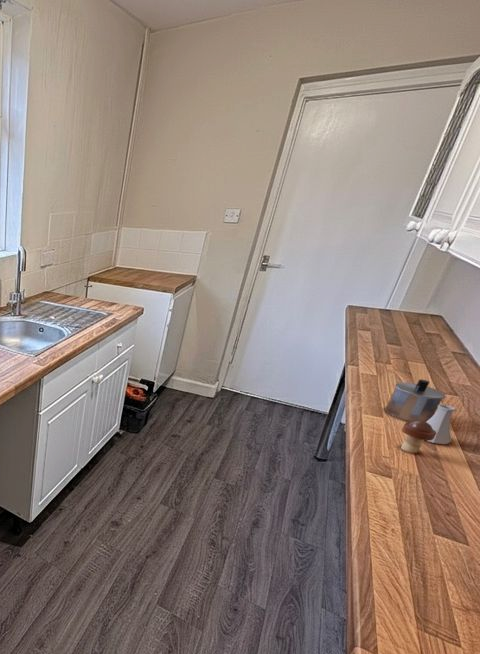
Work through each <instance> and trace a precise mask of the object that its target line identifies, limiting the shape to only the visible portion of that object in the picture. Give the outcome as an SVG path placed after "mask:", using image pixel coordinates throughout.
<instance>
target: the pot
mask: <svg viewBox="0 0 480 654" xmlns="http://www.w3.org/2000/svg"><path fill="white" fill-rule="evenodd" d="M442 401H443V399H428V398H422V397H418V396H414V395H410V394H407V393H405V392H402V391H400V390H398V389H397V388H396V387H395V386H394V390H393V392H392V394H391V396H390V398H389V400H388V403H387V405H386V407H385V411H384V412H386V413H387V414H388V415H389V416H391V417H393V418H395V419H397V420H398V419H399V420H401V421H404V422H407V423H412V422H414V421H424V422H427V421H428V420H429V419H430V418H431V417H432V416H433V415H434V414H435V413H436V412H437V410H438V405H440V404H441V403H442Z"/></svg>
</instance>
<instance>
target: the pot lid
mask: <svg viewBox="0 0 480 654" xmlns="http://www.w3.org/2000/svg"><path fill="white" fill-rule="evenodd" d="M429 384H430V381H429V380H426V379H418V381H417V383H412V382H396V383H395V384H394V388H395V387H396V388H397V389H398V390H400V391H402V392H405V393H407V394H410V395H414V396H418V397H422V398H428V399H442V400H443V399H444V400H445V398H446V393H444V392H442V391H440V390H438V389H436V388H434V387H430V386H429Z"/></svg>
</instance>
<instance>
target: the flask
mask: <svg viewBox="0 0 480 654" xmlns="http://www.w3.org/2000/svg"><path fill="white" fill-rule="evenodd" d="M456 410H457V408H456V407H453V406H451V405H448V404H442V403H440V404H439V405H438V408H437V410H436V412H435V414H434V415H433V416H432V417H431V418H430V419H429V420H428V421H427V423H428V424H430V425H431V427H432V429H433V430H435V431H436V435H435V437H434V439H433V440H426V441H427V442H429V443H432V444H440V445H447V444H450V443H451V442H452V438H451V418H452V415H453V412H455V411H456Z"/></svg>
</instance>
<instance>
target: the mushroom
mask: <svg viewBox="0 0 480 654" xmlns="http://www.w3.org/2000/svg"><path fill="white" fill-rule="evenodd" d="M401 432H402V433H404V434H405V435H406V437H405V438H404V440H403V442H402V445H401V447H400V449H401V450H402V451H404V452H407V453H409V454H418V452H419V451H420V449H421V447H422V445H423V443H424V442H425V441H427V440H433V439H434V437H435V435H436V431H435V430H433V429H432V427H431V425H430V424H428V423H427V422H424V421H414V422H406V423H404V424H403V426H402V428H401Z"/></svg>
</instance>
